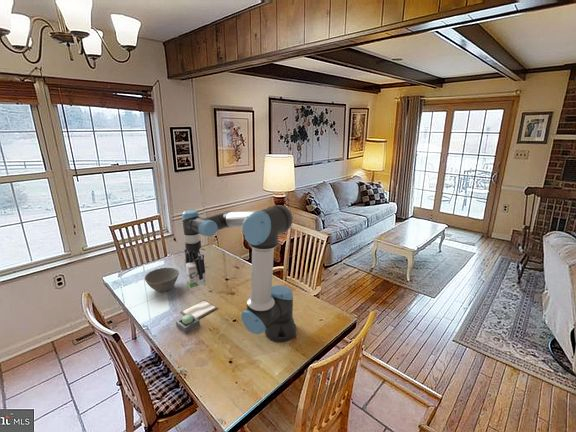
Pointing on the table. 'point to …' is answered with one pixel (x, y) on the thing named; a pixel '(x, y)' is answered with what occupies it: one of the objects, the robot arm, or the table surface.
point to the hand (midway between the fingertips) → (196, 282)
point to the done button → (187, 320)
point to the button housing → (188, 327)
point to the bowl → (162, 278)
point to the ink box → (193, 275)
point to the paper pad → (199, 309)
